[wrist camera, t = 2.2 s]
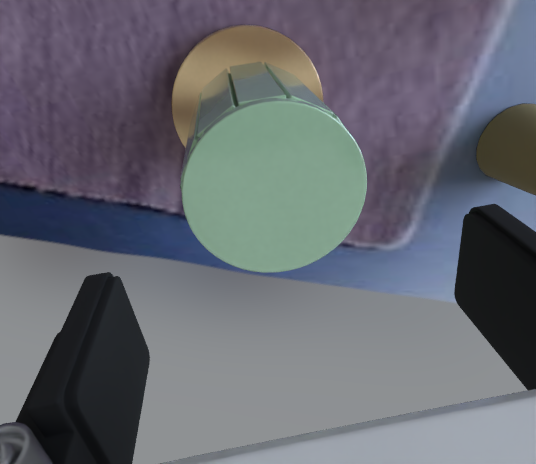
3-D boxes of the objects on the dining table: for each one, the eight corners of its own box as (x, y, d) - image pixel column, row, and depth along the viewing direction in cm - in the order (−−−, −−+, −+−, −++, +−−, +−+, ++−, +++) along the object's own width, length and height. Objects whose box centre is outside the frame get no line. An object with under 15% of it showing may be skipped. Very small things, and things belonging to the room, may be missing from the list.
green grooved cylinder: (178, 74, 21) (158, 119, 13) (311, 53, 21) (367, 85, 14) (206, 195, 25) (203, 286, 17) (319, 176, 25) (367, 257, 17)
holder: (155, 37, 25) (102, 76, 13) (314, 13, 25) (404, 28, 13) (191, 185, 30) (177, 310, 18) (323, 162, 31) (395, 271, 19)
